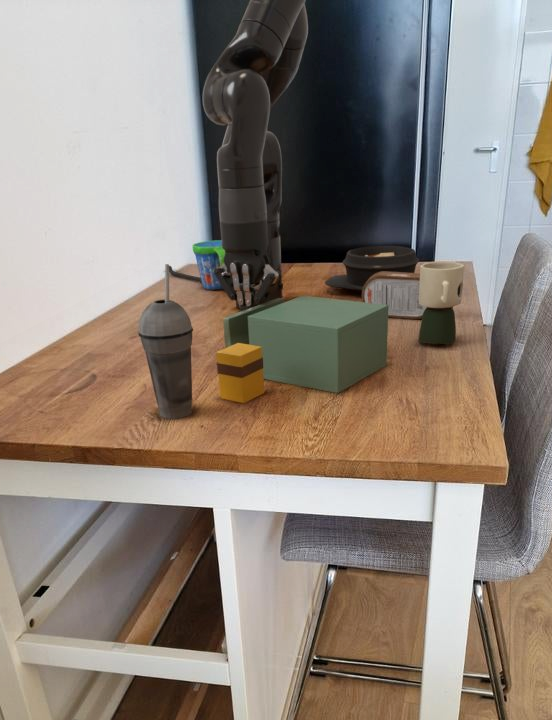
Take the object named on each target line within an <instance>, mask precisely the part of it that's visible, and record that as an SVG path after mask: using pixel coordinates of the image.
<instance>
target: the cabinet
mask: <svg viewBox="0 0 552 720" xmlns="http://www.w3.org/2000/svg"><path fill="white" fill-rule="evenodd" d="M388 309H389V305H383V304H374V303H365V302H363V301H357V300H348V299H347V300H345V299H337V298H329V297H319V296H310V295H301V296H298V297H296V298H295V297H294V298H292V299H290V300H287V301H284V303H282V304H279V305H277V306H274V307H271V308H269V309H266V310H263V311H261V312H258V313H255V314H253V315H250V316H248V330H249V345H254V346H260V347H262V357H263V378H264V380H267V381H272V382H278V383H283V384H288V385H293V386H298V387H304V388H308V389H309V388H310V389H315V390H319V391H323V392H324V391H325V392H330V393H335V394H339V393H341V392H343V391H344V390H346V389H348V388H350V387H351V386H353V385H355V384H356V383H359V382H360V381H361V380H363V379H365V378H367V377H368V376H370V375H372V374H374V373H375V372H377V371H379V370H381V369H382V368H384V367H385V366H387V365H388V337H389V335H388V333H389V317H388Z"/></svg>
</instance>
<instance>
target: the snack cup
mask: <svg viewBox="0 0 552 720" xmlns="http://www.w3.org/2000/svg"><path fill="white" fill-rule="evenodd" d="M192 252H193V254H194V256H195V260H196V264H197V269H198V272H199V276H200V278H201V281H202V282H201V284H202V287H203V288H204V289H207V290H208V291H209V290H210V291H212V290H214V291H215V290H216V291H218V290H223V289H222V285H221V284H220V282H219V280H218V279H217V277H216V276H215V274H214V270H215V269H216V268H219V267H220V266H221V265H222V264H223V263H224V255H225V250H224V249H223V248H222V240H221V239H219V240H217V239H216V240H215V239H214V240H206V241H200V242H196V243H193V245H192Z"/></svg>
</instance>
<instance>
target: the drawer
mask: <svg viewBox="0 0 552 720" xmlns="http://www.w3.org/2000/svg"><path fill="white" fill-rule="evenodd" d="M282 303H285V298H284V297H283V298H277V299H274V300H271V301H269V302H266V303H263V304H260V305H258V306H255V307H252V308H249V309H247V310H244V311H241V312H240V311H239V312H236V313H233V314H231V315H227V316H225V317H223V318H222V323H223V324H222V325H223V336H224V347H225V348H227V347H229V346H232V345H234V344H237V343H242V344H248V345H249V330H248V316H250V315H253V314H255V313H258V312H261V311H263V310H266V309H269V308H271V307H274V306H277V305H279V304H282ZM225 348H224V349H225Z"/></svg>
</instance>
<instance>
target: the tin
mask: <svg viewBox="0 0 552 720" xmlns="http://www.w3.org/2000/svg"><path fill="white" fill-rule="evenodd" d="M419 283H420V272H414V273H403V272H386V271H382V272H378V273H375V274H374V275H372V276H371V277H370V278H369V279H368V280H367V282H366V283H365V285H364V286H363V289H362V293H361V302H365V303H374V304H383V305H389V309H388V318H392V319H393V318H394V319H404V320H405V319H406V320H422V316H423V312H424V310H425V309H426V308H427V307H424V306H422V305H420V304H419Z"/></svg>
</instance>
